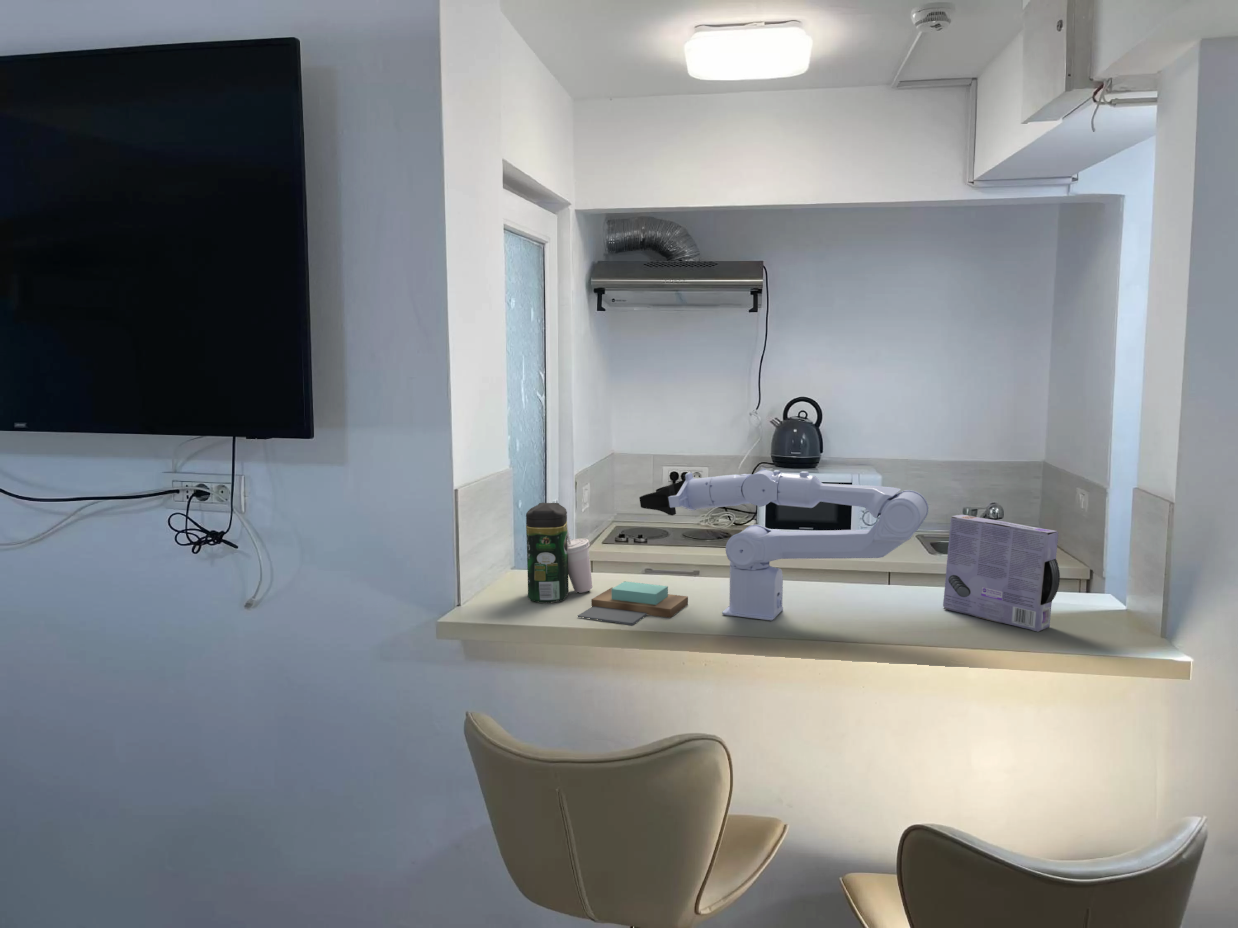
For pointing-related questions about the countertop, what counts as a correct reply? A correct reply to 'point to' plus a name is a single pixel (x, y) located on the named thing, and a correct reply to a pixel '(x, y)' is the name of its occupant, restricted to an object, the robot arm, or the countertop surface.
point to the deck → (643, 604)
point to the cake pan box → (1001, 571)
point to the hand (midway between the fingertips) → (649, 498)
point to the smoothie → (579, 564)
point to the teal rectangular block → (640, 592)
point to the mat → (613, 615)
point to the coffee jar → (547, 553)
